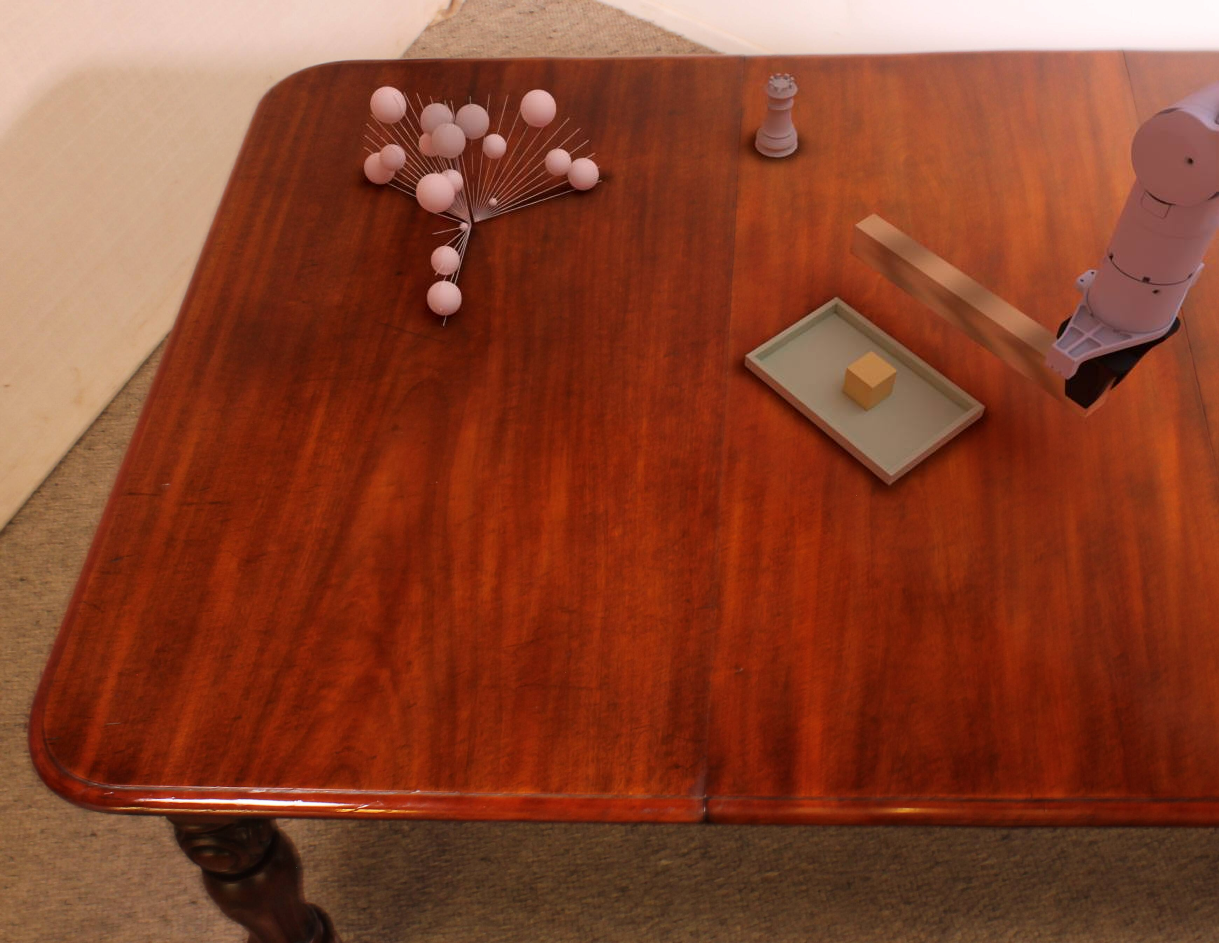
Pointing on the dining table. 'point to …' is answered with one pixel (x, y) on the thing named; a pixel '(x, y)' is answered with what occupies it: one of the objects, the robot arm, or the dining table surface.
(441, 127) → the decorative flower
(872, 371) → the cheese cube
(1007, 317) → the stick
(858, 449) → the dish
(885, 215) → the dining table surface
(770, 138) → the rook chess piece
